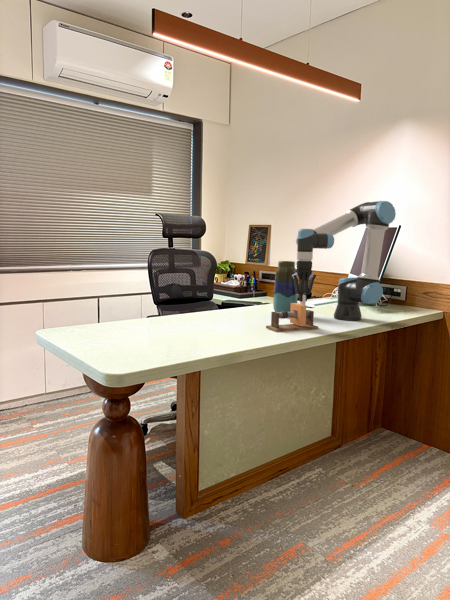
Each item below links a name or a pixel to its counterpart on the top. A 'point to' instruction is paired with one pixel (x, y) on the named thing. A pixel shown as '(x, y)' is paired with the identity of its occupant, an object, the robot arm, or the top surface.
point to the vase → (284, 286)
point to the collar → (298, 314)
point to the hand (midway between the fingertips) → (302, 307)
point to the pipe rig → (290, 327)
